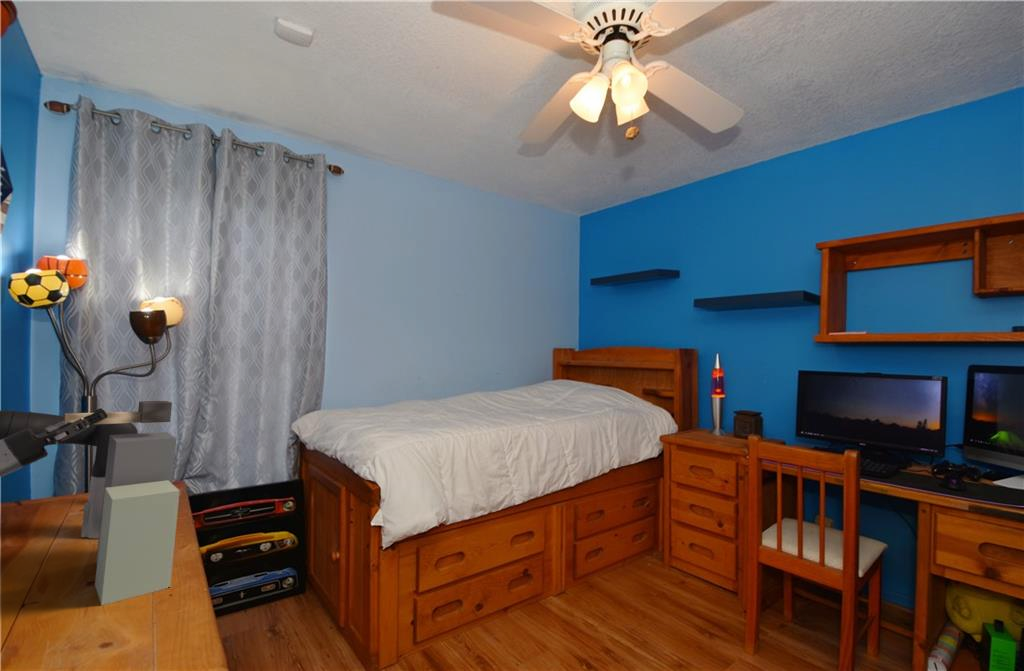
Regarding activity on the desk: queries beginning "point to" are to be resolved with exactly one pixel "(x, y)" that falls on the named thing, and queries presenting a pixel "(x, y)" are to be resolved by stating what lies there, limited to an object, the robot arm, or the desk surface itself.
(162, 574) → the stand
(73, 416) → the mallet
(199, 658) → the desk surface
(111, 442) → the stand
